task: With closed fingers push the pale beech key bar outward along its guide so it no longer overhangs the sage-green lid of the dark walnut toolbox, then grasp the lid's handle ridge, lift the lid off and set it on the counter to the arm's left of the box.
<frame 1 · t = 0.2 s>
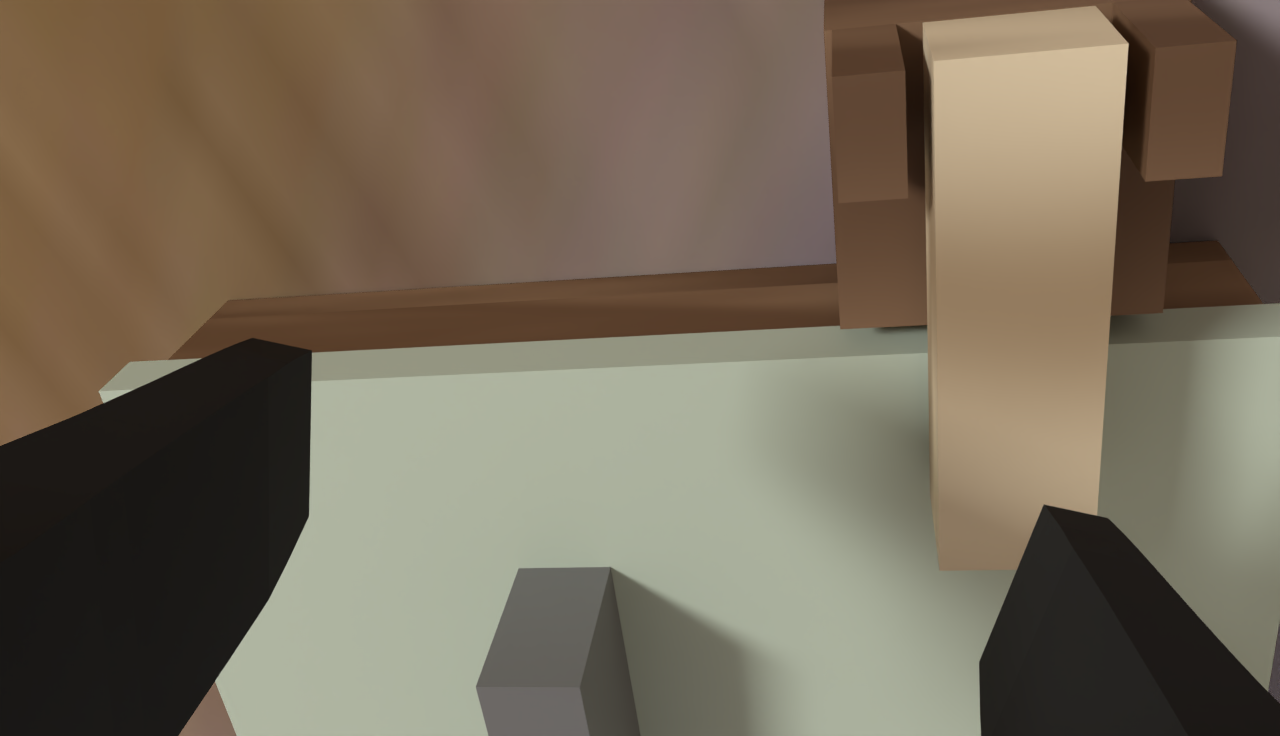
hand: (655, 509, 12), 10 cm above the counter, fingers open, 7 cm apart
key: (1012, 308, 15), point 5 cm above the counter, slide at 0.0 cm
lid: (705, 660, 22), point 3 cm above the counter, touching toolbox
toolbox: (718, 558, 24), on the counter
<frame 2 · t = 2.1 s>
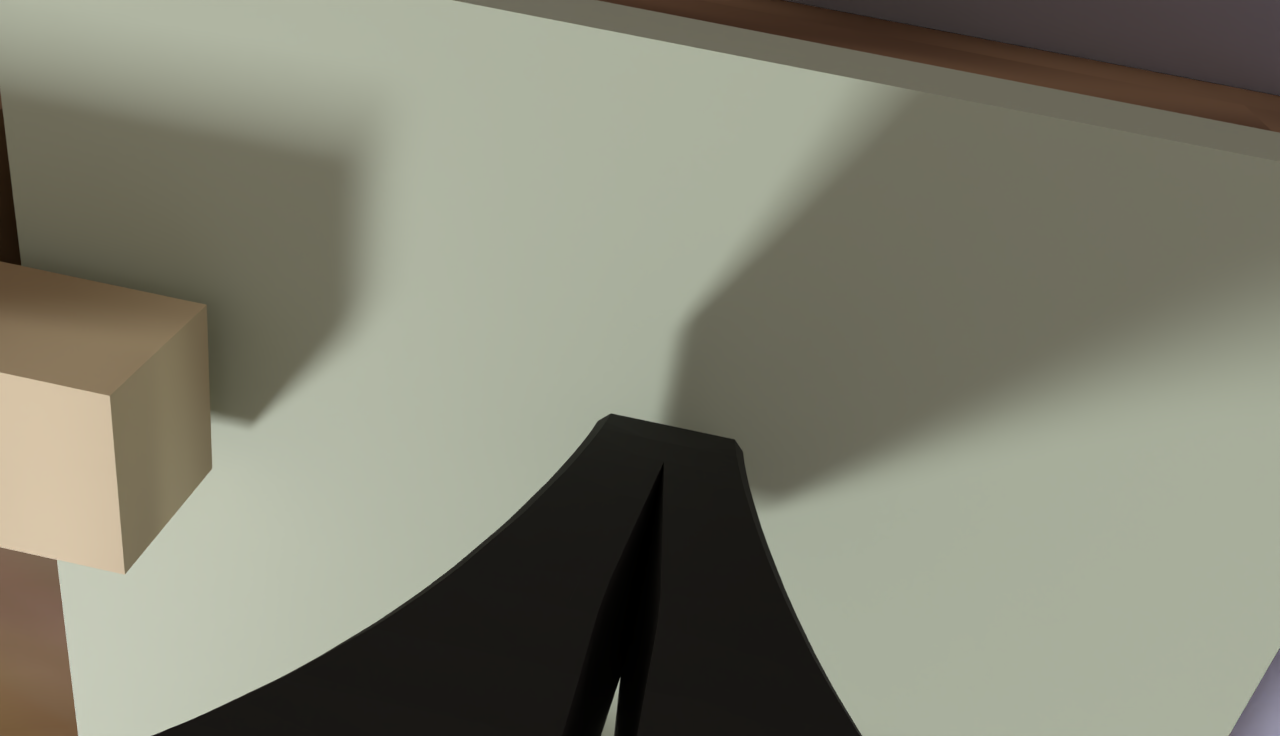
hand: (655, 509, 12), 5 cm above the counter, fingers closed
lid: (601, 726, 16), point 3 cm above the counter, touching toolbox
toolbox: (634, 582, 18), on the counter
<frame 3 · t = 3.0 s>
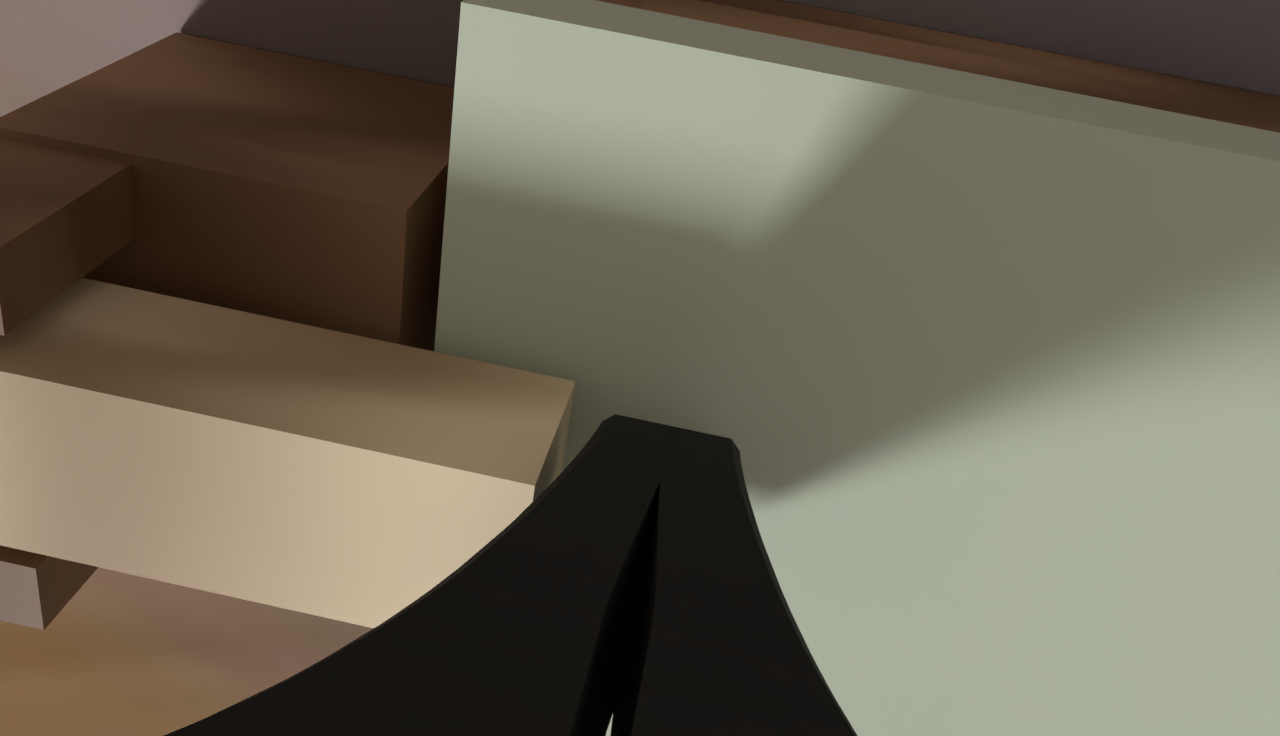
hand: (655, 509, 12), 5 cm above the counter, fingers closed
key: (191, 440, 11), point 5 cm above the counter, slide at 0.7 cm, touching gripper
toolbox: (915, 642, 18), on the counter
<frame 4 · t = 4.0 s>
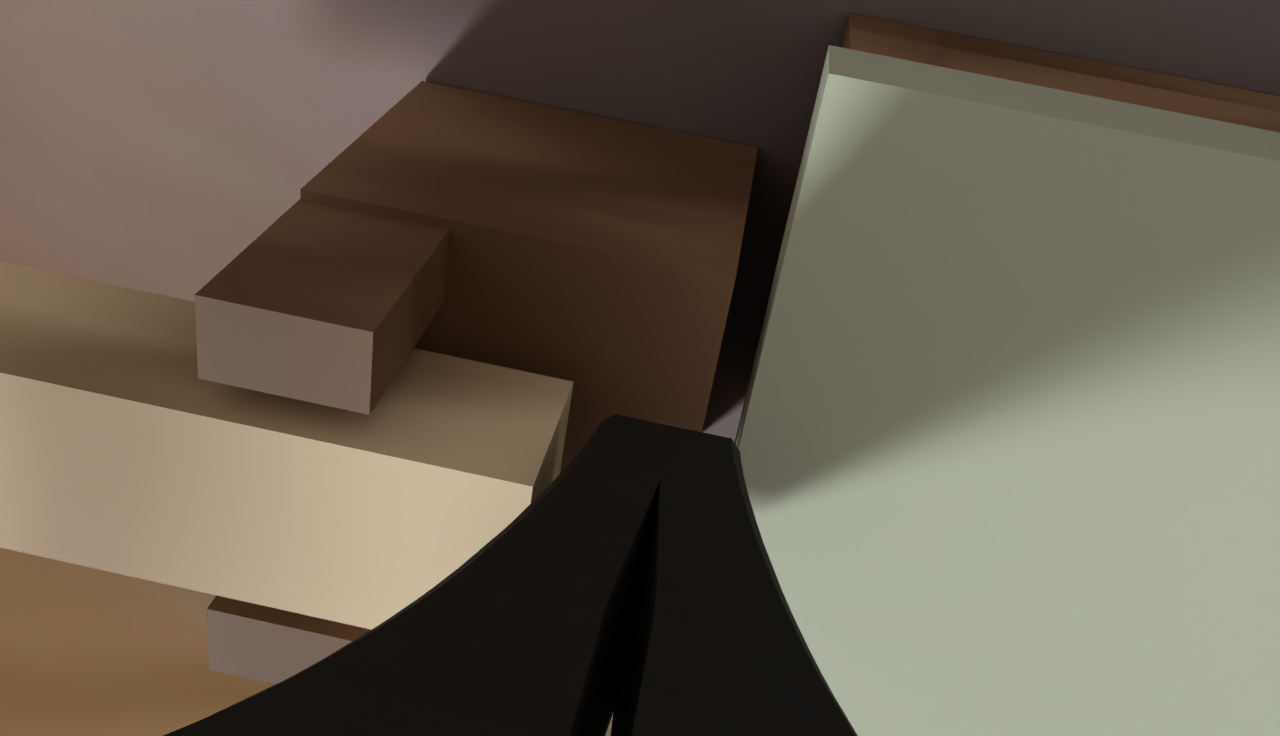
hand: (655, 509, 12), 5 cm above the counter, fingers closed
key: (188, 441, 11), point 5 cm above the counter, slide at 3.9 cm, touching gripper
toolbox: (1127, 689, 18), on the counter
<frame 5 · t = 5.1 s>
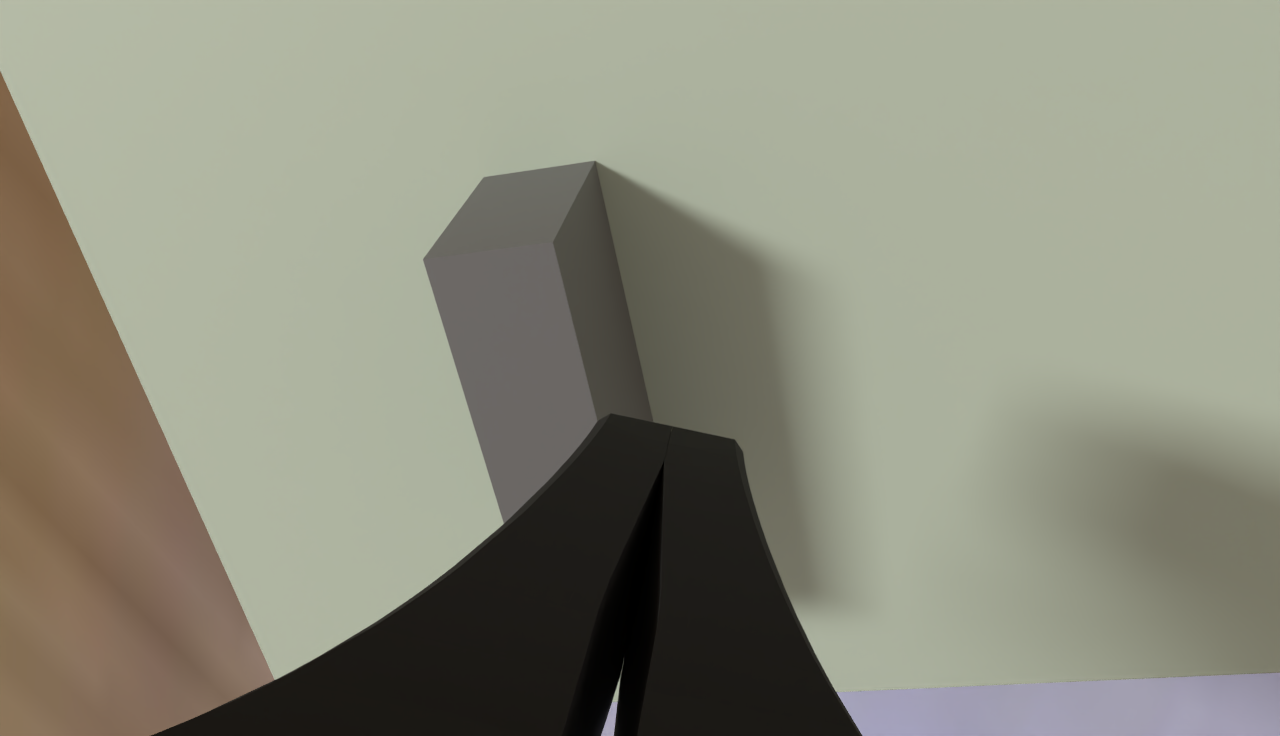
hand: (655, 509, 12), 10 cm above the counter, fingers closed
lid: (724, 314, 18), point 3 cm above the counter, touching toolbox
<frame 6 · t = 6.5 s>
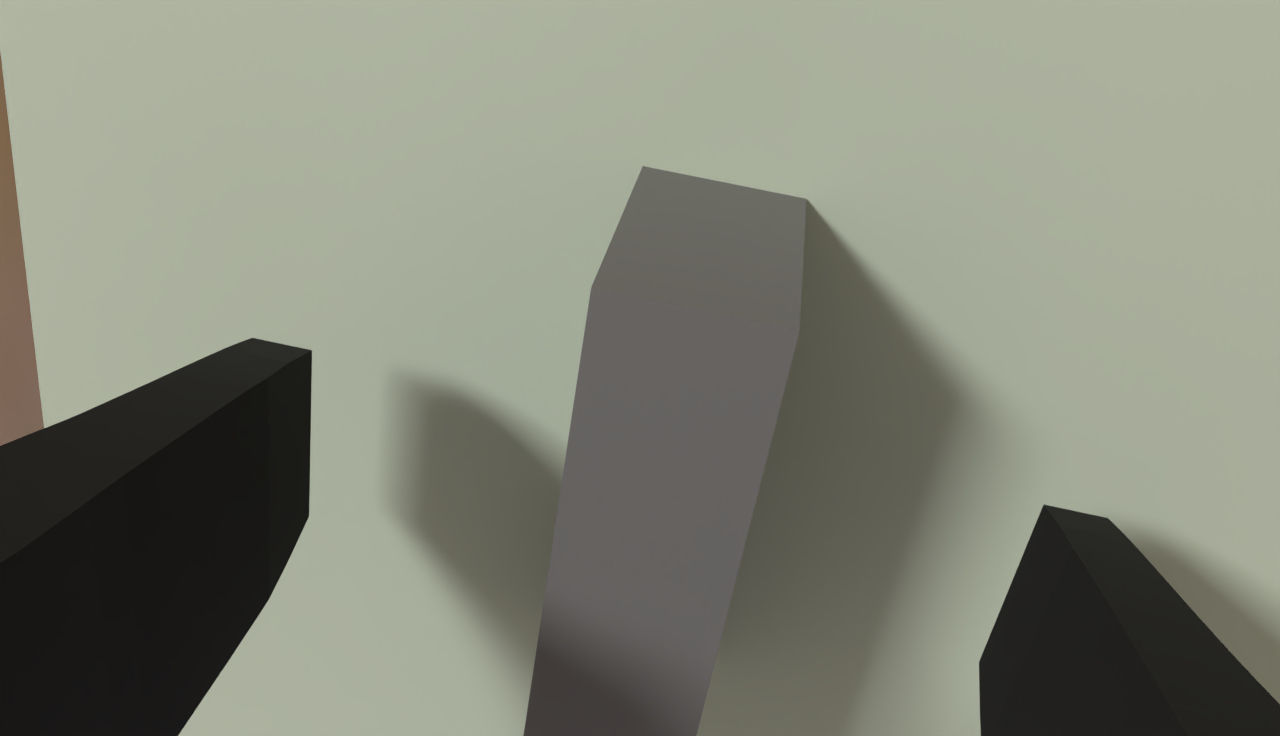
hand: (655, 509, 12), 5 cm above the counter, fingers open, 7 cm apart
lid: (852, 430, 14), point 3 cm above the counter, touching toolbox
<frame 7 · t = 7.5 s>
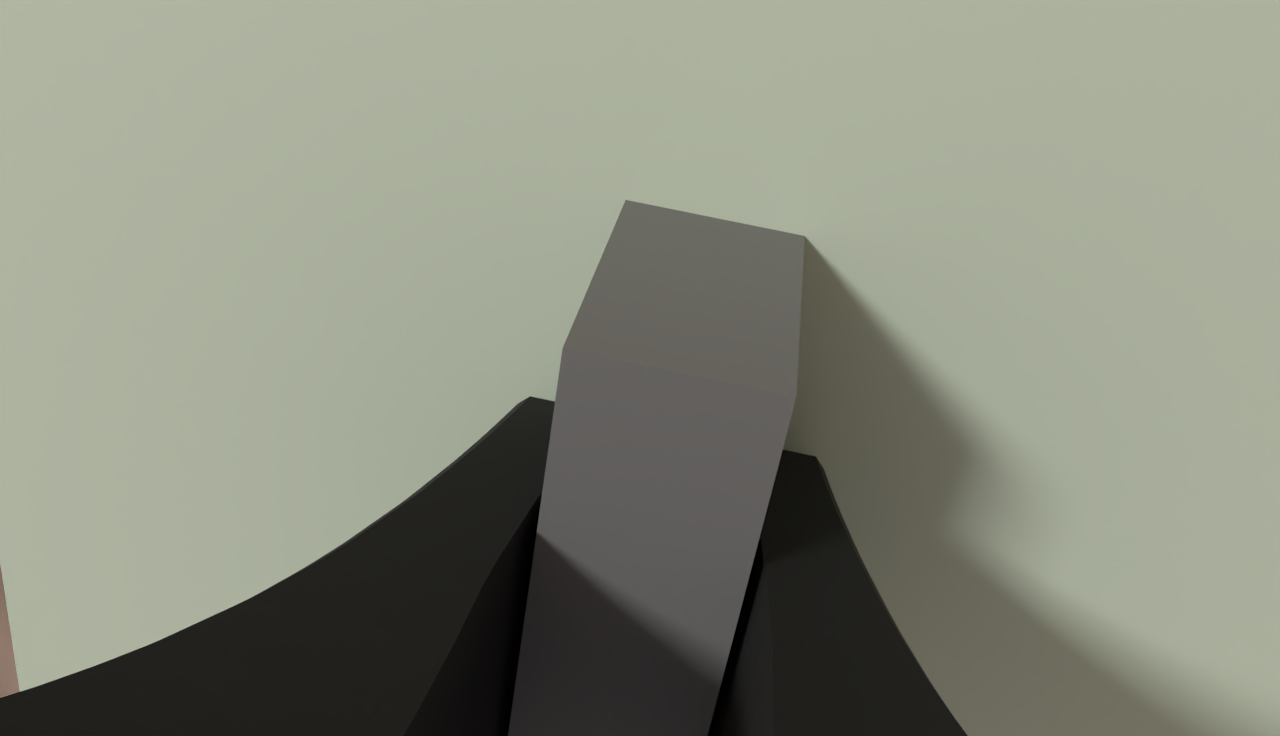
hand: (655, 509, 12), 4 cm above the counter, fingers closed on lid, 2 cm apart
lid: (854, 477, 13), point 3 cm above the counter, touching gripper, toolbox
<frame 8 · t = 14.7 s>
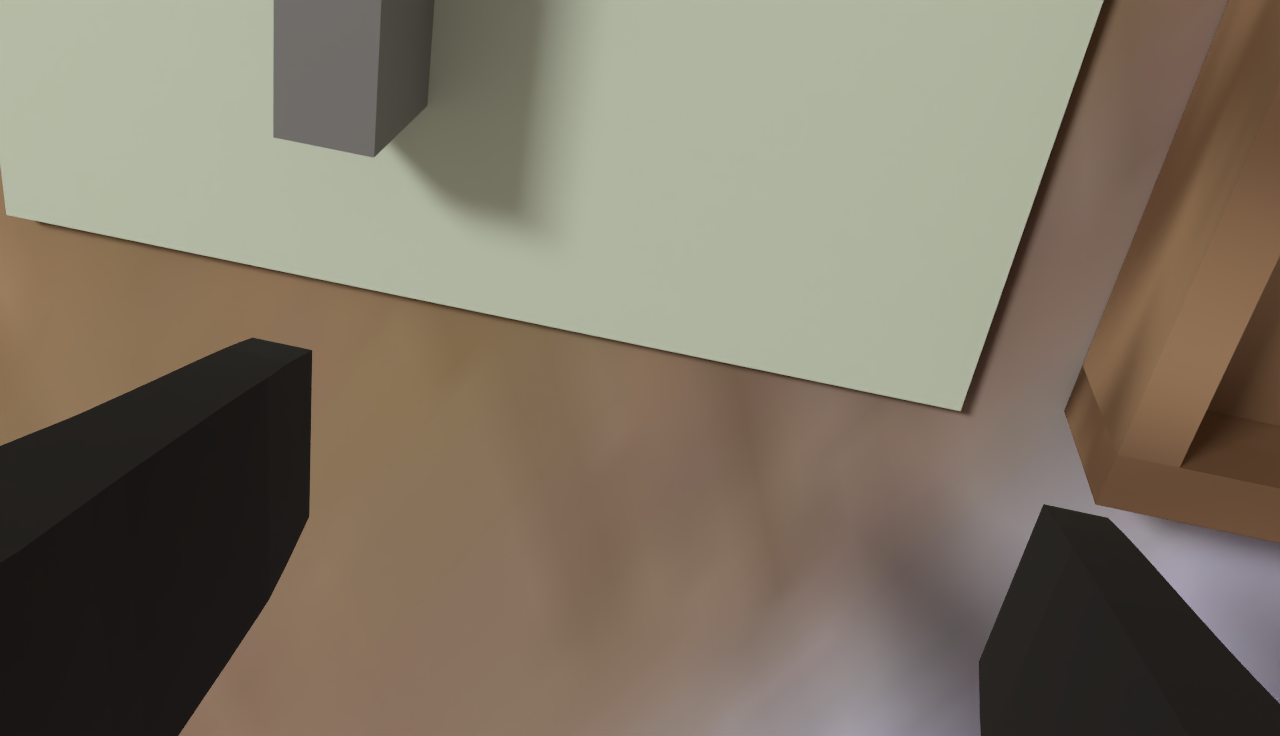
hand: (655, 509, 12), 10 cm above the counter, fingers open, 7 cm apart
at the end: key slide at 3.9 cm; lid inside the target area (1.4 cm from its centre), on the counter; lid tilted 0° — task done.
